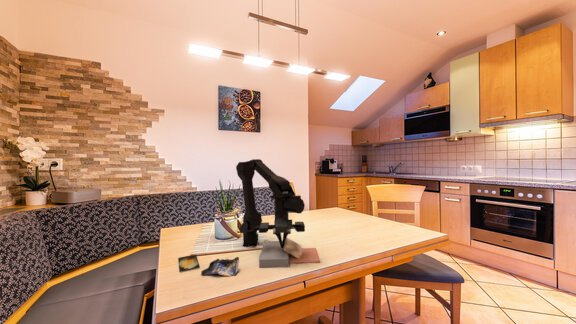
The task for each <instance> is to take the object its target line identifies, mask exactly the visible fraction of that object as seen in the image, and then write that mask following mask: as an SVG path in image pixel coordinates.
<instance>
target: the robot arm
mask: <svg viewBox="0 0 576 324" xmlns="http://www.w3.org/2000/svg"><path fill="white" fill-rule="evenodd" d="M235 169H236V173H237V176H238V178H239V179H240V181H241V184H242V195H243V201H244V208H245V210H244V211H245V212H244V215H243V217H242V223H241V225H240V227H238V228H239V233H241V234H242V235H243V236H242V237H243V238H242V241H243V242H242V247H243V246H244V247H256V246H257V245H258V244H259V234H264V233H266V234H267V233H268V231H269V230H271V231H272V235H275V236H276V237H277V241H279V243H280V245H281V248H283V247H284V244H285V240H286V238H288V236H289V235H290V234H292V230H295V231H296V232H297V233H303V232H305V231H306V229H305V228H306V227H305V226H306V225H305V223H304V221H294V224H293V219H289V217H290V216H289V213H294V214H302V213H304V209H305V205H306V204H305V202H304V200H303V199H302V196H301V195H297V194H296V193H295V191H294V189H293V188H292V186H291V183H290V181H289V180H288V179H287V178H285V177H283V176H280V175H278V174H276V173H275V172H274V171H273V170H272V169H270V168H269V166H267V165H266V164H265V163H264V162H263V160H262V159H261V158H259V159H258V158H257V159H253V158H252V159H250V160H247V161H239V162H238V163H237V164H236V166H235ZM255 171H256V173H258V175H260V176H261V178H263V180H265V182H266V183H267V184H268V188H269V190H270V191H271V192H272V193H273V194H272V195H271V196H270V199H271V200H273V201H274V202H273V204H274V221H273V223H274V224H270V222H263V219H262V212H259V211H258V210H257V205H256V199H255V192H254V191H255V190H254V184H253V179H254V176H255V174H256V173H255ZM282 241H283V242H282Z"/></svg>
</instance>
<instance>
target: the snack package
mask: <svg viewBox="0 0 576 324" xmlns="http://www.w3.org/2000/svg"><path fill="white" fill-rule="evenodd" d="M239 263H240V257H239V256H236V257H234V258H233V259H229V258H225V259H224V258H223V259H222V258H221V259H220V258H216V259H214V260H212V261H211V262H210V263H209V265H208V267H207V268H205V269H203V270H201V271H200V272H201V274H200V275H201V276H205V275H207V276H208V275H220V276H225V277H226V276H227V277H228V275H229V276H235V275H237V272H238V270H239ZM222 272H224V273H226V274H224V273H222ZM227 274H228V275H227Z"/></svg>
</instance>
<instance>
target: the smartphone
mask: <svg viewBox="0 0 576 324" xmlns="http://www.w3.org/2000/svg"><path fill="white" fill-rule="evenodd" d="M177 260H178V263H177V264H178V272H179V273H180V274H182V273H186V272H191V271H196V270H200V269H201V266H200V263H199V259H198V256H197V254H190V255H186V256H180V257H178V259H177Z"/></svg>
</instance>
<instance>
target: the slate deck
mask: <svg viewBox="0 0 576 324" xmlns="http://www.w3.org/2000/svg"><path fill="white" fill-rule="evenodd" d="M282 242H283V240H282ZM262 243H263V244H262V246H261V251H260V255H259V258H258V268H259V269H261V268H263V269H265V268H266V269H268V268H289V267H290V265H289V264H290V263H289V253H288V252H286V251H284V247H283V248H281V245H280V243H279V240H264V241H263V242H262Z"/></svg>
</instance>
